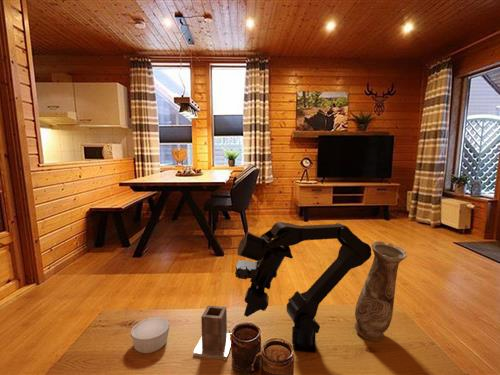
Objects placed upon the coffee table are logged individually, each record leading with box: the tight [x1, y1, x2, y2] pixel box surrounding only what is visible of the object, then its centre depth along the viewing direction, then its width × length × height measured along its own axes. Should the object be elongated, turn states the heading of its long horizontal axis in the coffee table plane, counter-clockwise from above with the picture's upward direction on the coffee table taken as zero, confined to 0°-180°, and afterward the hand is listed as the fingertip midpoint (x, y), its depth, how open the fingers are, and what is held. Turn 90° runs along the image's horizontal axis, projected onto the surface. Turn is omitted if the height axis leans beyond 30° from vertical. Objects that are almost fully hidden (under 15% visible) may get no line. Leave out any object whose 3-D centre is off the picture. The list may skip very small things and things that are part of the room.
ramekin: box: [130, 316, 170, 354], centre depth 81 cm, size 11×11×5 cm
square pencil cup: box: [200, 305, 228, 351], centre depth 79 cm, size 6×6×10 cm
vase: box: [354, 240, 408, 342], centre depth 82 cm, size 10×11×30 cm
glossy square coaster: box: [192, 332, 232, 361], centre depth 80 cm, size 10×10×5 cm
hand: (247, 305), depth 80 cm, fingers open, 9 cm apart
